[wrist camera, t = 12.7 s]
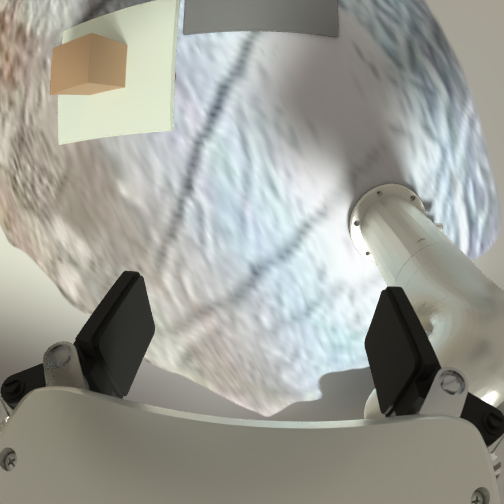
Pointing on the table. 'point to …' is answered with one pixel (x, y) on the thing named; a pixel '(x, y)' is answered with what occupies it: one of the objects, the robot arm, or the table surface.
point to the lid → (117, 73)
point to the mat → (262, 16)
